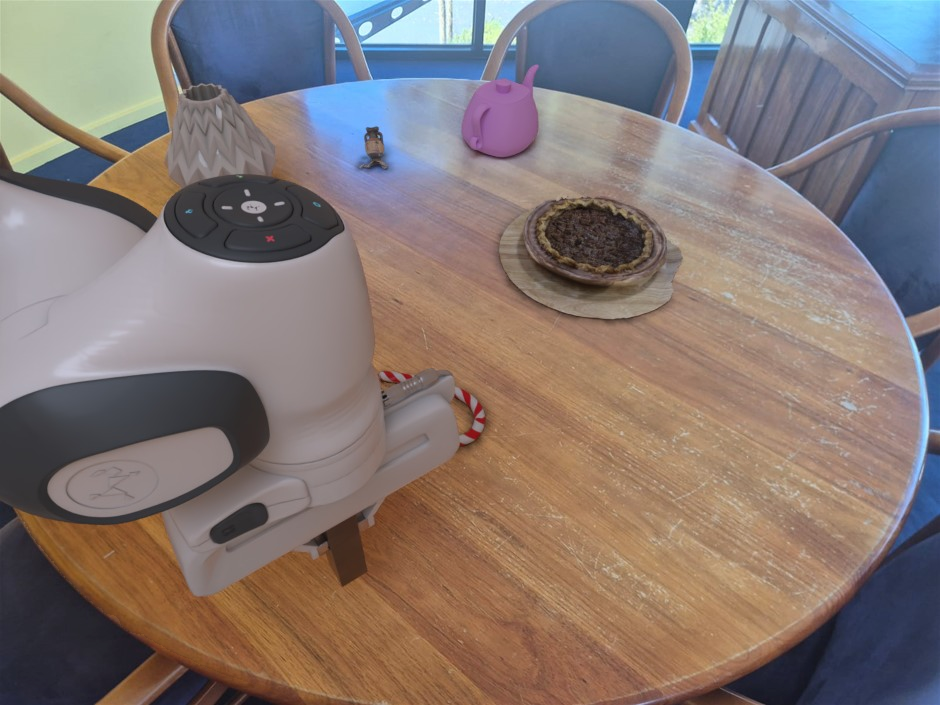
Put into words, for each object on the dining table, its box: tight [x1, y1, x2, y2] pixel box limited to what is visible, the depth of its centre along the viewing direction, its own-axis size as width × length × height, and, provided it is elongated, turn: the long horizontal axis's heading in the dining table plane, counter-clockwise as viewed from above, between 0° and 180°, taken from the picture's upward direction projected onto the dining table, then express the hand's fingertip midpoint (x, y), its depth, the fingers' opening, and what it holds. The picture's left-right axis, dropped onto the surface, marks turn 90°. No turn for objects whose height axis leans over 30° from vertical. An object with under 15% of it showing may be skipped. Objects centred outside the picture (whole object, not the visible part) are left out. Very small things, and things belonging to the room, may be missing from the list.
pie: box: [498, 195, 683, 320], centre depth 93 cm, size 28×27×5 cm
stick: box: [322, 514, 369, 588], centre depth 47 cm, size 2×2×14 cm
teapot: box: [460, 64, 540, 158], centre depth 113 cm, size 20×13×12 cm, turn 144°
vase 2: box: [358, 126, 390, 170], centre depth 109 cm, size 5×5×6 cm
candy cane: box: [378, 370, 486, 447], centre depth 73 cm, size 8×1×15 cm
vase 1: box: [163, 82, 277, 189], centre depth 94 cm, size 16×16×18 cm
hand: (339, 535), depth 48 cm, fingers closed on stick, 2 cm apart
